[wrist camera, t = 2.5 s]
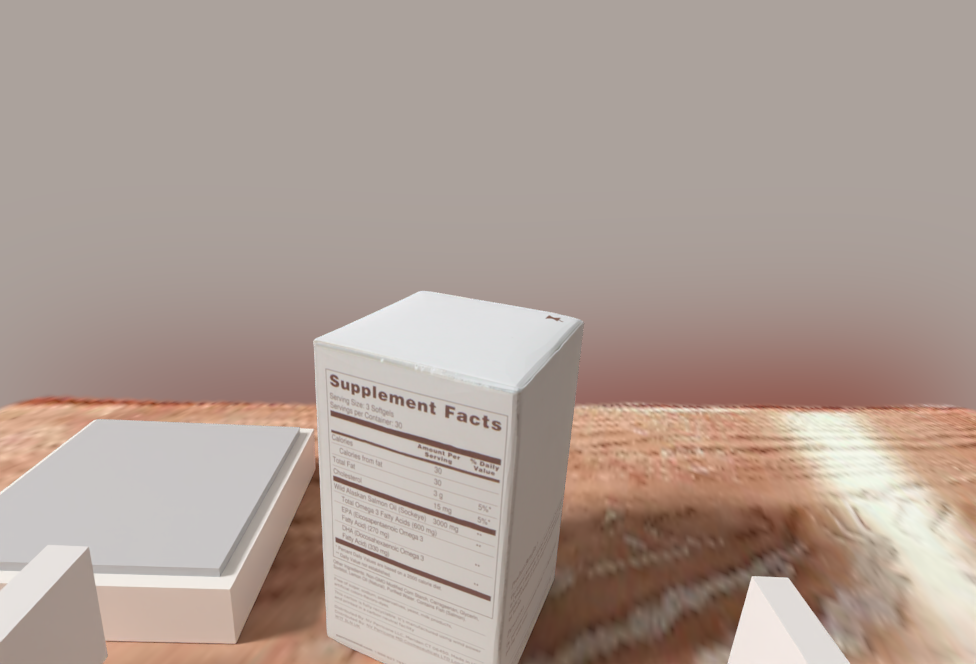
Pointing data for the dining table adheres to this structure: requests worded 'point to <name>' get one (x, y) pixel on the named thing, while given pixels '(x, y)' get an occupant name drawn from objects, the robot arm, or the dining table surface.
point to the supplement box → (443, 475)
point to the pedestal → (164, 520)
